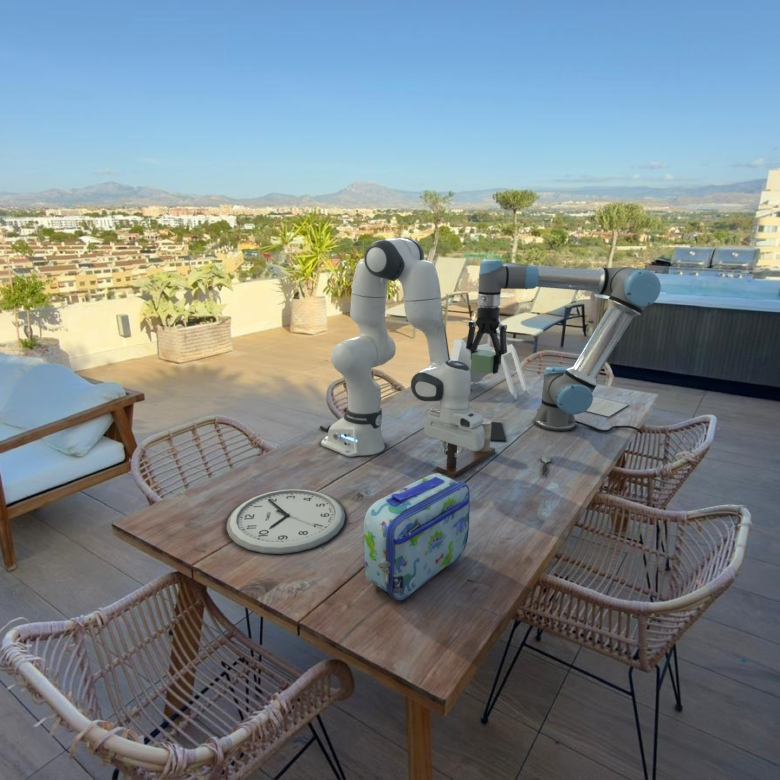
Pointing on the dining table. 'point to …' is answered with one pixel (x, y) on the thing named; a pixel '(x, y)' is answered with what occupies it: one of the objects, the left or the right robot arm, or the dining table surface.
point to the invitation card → (605, 407)
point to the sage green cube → (483, 361)
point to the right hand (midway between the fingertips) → (484, 370)
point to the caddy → (467, 455)
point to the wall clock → (285, 521)
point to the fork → (545, 461)
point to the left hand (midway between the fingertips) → (451, 455)
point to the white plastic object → (464, 356)
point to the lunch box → (415, 534)
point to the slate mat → (497, 432)
